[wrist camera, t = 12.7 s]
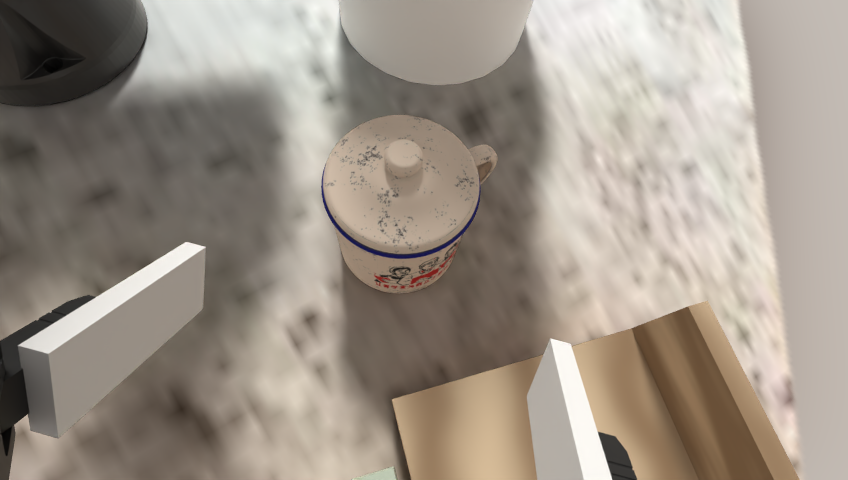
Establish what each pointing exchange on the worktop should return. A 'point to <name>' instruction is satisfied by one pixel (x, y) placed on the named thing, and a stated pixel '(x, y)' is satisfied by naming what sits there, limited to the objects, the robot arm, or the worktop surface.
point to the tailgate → (380, 475)
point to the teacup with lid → (402, 199)
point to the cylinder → (435, 36)
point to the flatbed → (608, 410)
